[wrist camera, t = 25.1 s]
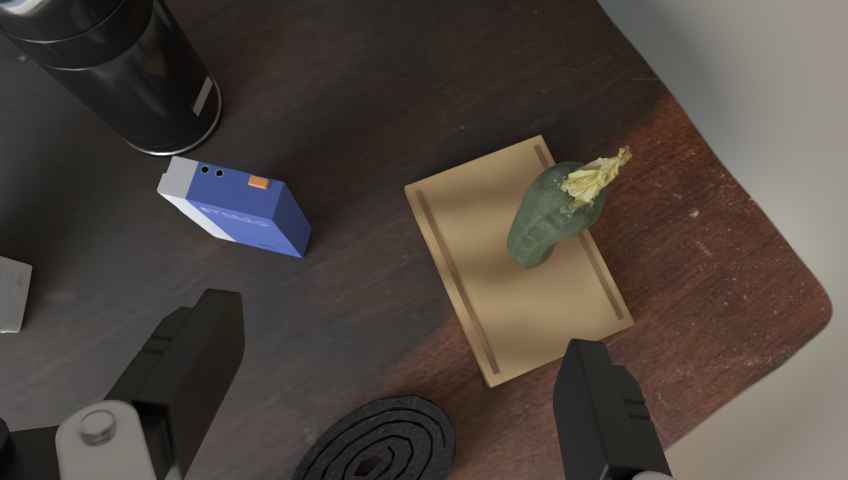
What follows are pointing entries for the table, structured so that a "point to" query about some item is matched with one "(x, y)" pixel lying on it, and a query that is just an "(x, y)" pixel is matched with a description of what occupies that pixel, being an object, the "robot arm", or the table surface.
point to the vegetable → (560, 207)
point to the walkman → (237, 205)
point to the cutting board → (512, 266)
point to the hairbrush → (385, 443)
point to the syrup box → (13, 293)
